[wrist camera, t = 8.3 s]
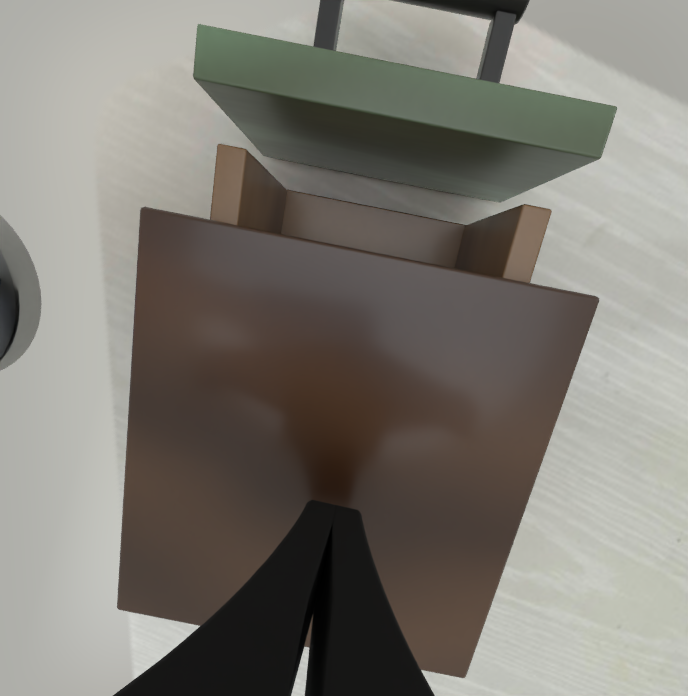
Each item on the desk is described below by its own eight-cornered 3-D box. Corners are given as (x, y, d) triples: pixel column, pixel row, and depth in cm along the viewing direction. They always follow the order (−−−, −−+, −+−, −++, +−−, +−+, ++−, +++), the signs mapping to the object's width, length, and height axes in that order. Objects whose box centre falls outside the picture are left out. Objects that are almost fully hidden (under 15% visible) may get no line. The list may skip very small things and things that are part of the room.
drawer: (282, 9, 14) (215, -205, 8) (539, 60, 14) (690, -111, 8) (234, 379, 18) (160, 447, 11) (440, 420, 18) (486, 511, 11)
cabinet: (246, 233, 17) (138, 205, 9) (485, 280, 17) (602, 297, 9) (217, 467, 20) (115, 610, 12) (422, 507, 20) (466, 680, 12)
